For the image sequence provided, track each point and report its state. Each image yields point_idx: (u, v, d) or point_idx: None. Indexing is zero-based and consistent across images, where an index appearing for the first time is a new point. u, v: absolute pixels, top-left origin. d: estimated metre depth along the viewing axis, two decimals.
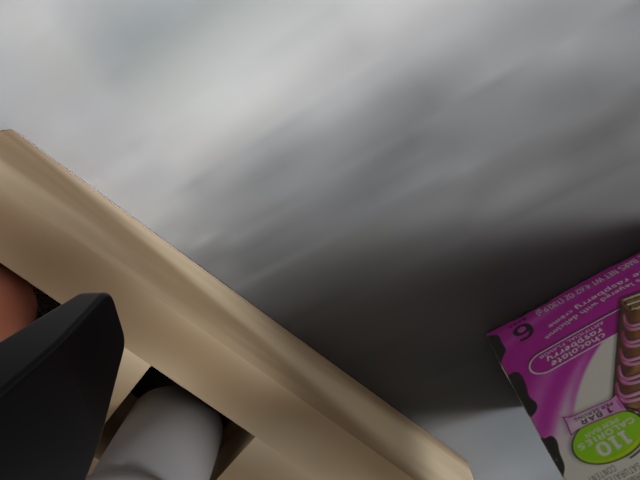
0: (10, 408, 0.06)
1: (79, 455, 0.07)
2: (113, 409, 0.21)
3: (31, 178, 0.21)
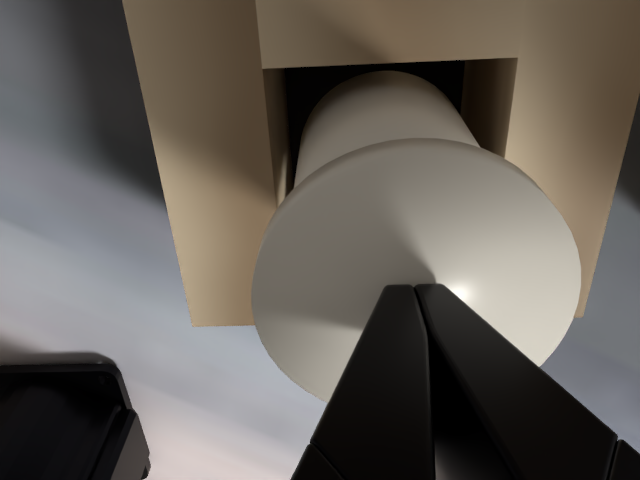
0: None
1: None
2: None
3: None
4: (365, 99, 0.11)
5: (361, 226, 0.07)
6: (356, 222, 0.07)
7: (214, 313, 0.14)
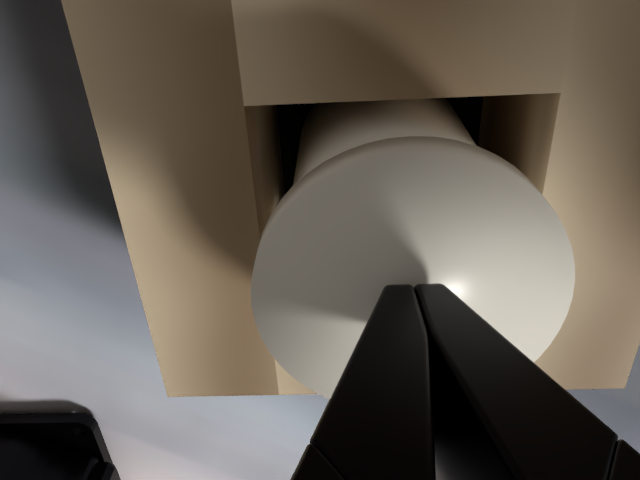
0: None
1: None
2: None
3: None
4: None
5: (358, 223, 0.07)
6: (353, 219, 0.07)
7: (193, 382, 0.12)
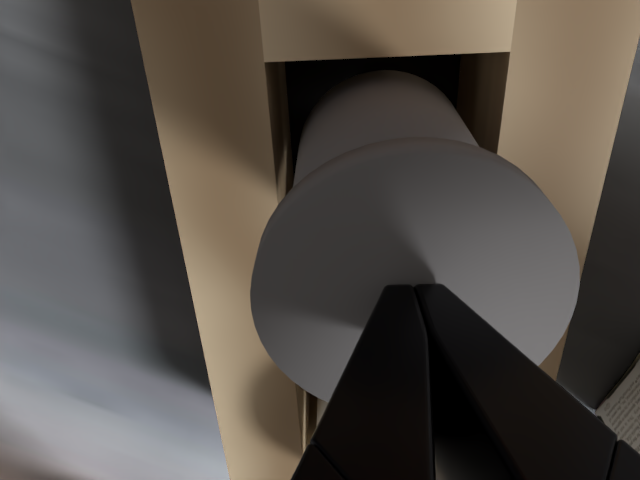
0: None
1: None
2: (380, 53, 0.11)
3: None
4: None
5: None
6: None
7: None
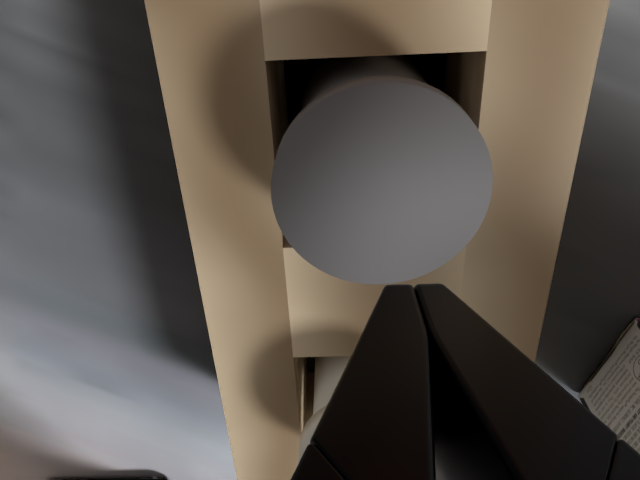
0: None
1: None
2: (370, 52, 0.12)
3: None
4: None
5: None
6: None
7: None
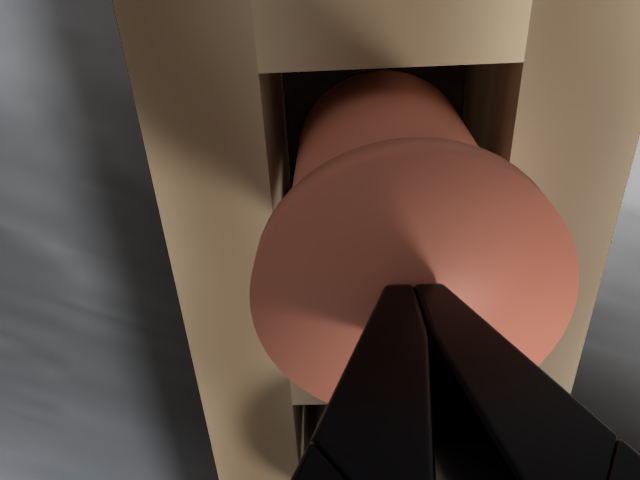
0: None
1: None
2: None
3: None
4: None
5: None
6: None
7: None
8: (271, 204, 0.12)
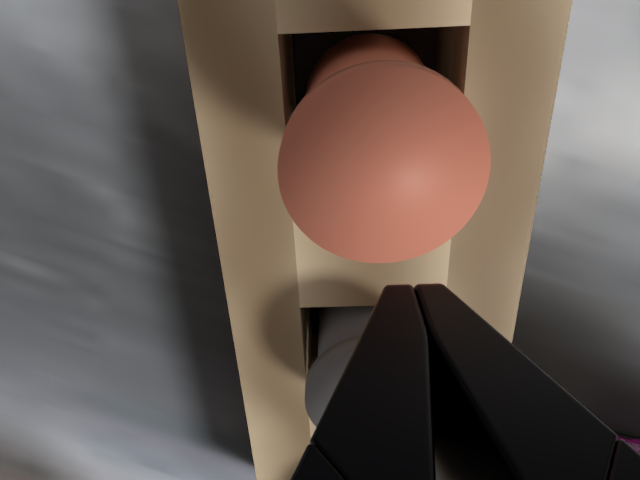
0: None
1: None
2: (369, 303, 0.19)
3: None
4: None
5: None
6: None
7: None
8: None
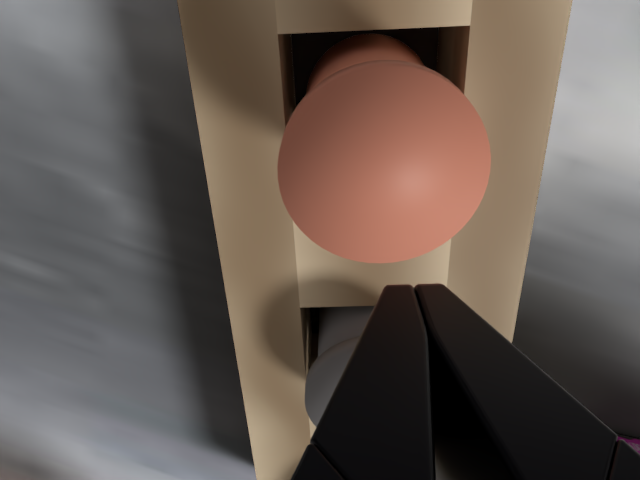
0: None
1: None
2: (369, 303, 0.19)
3: None
4: None
5: None
6: None
7: None
8: None
